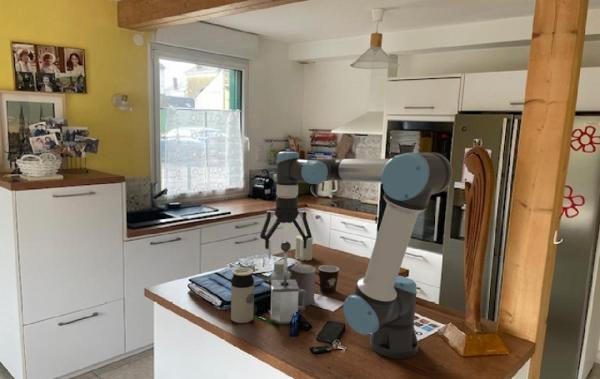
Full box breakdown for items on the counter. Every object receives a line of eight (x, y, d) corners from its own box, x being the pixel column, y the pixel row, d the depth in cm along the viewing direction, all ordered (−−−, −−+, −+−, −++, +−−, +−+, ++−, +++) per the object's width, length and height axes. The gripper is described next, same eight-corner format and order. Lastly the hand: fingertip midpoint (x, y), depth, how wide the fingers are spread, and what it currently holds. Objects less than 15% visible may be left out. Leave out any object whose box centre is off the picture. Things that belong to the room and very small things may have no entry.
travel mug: (226, 317, 155) (227, 269, 152) (245, 312, 160) (246, 265, 157) (238, 325, 149) (239, 276, 146) (257, 319, 154) (258, 271, 151)
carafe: (306, 324, 152) (307, 288, 150) (271, 325, 150) (272, 289, 148) (302, 311, 161) (303, 278, 159) (269, 313, 160) (269, 279, 158)
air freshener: (289, 289, 183) (289, 266, 182) (269, 288, 184) (270, 266, 182) (290, 280, 194) (290, 258, 193) (272, 279, 194) (272, 258, 193)
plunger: (295, 293, 151) (297, 244, 148) (275, 294, 150) (276, 244, 147) (293, 286, 158) (294, 238, 155) (273, 286, 157) (274, 238, 154)
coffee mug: (338, 287, 186) (339, 265, 185) (337, 295, 178) (339, 272, 176) (311, 286, 188) (312, 264, 186) (310, 293, 179) (310, 270, 178)
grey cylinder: (285, 302, 169) (287, 266, 167) (296, 294, 178) (297, 259, 175) (308, 308, 165) (310, 271, 163) (318, 299, 174) (319, 263, 171)
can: (304, 254, 234) (305, 232, 232) (315, 258, 227) (316, 236, 225) (291, 257, 228) (292, 235, 226) (302, 261, 221) (303, 239, 219)
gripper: (317, 194, 154) (315, 253, 157) (253, 194, 151) (252, 254, 154) (321, 198, 147) (319, 260, 150) (253, 197, 143) (253, 261, 147)
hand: (285, 257), depth 152 cm, fingers open, 11 cm apart
